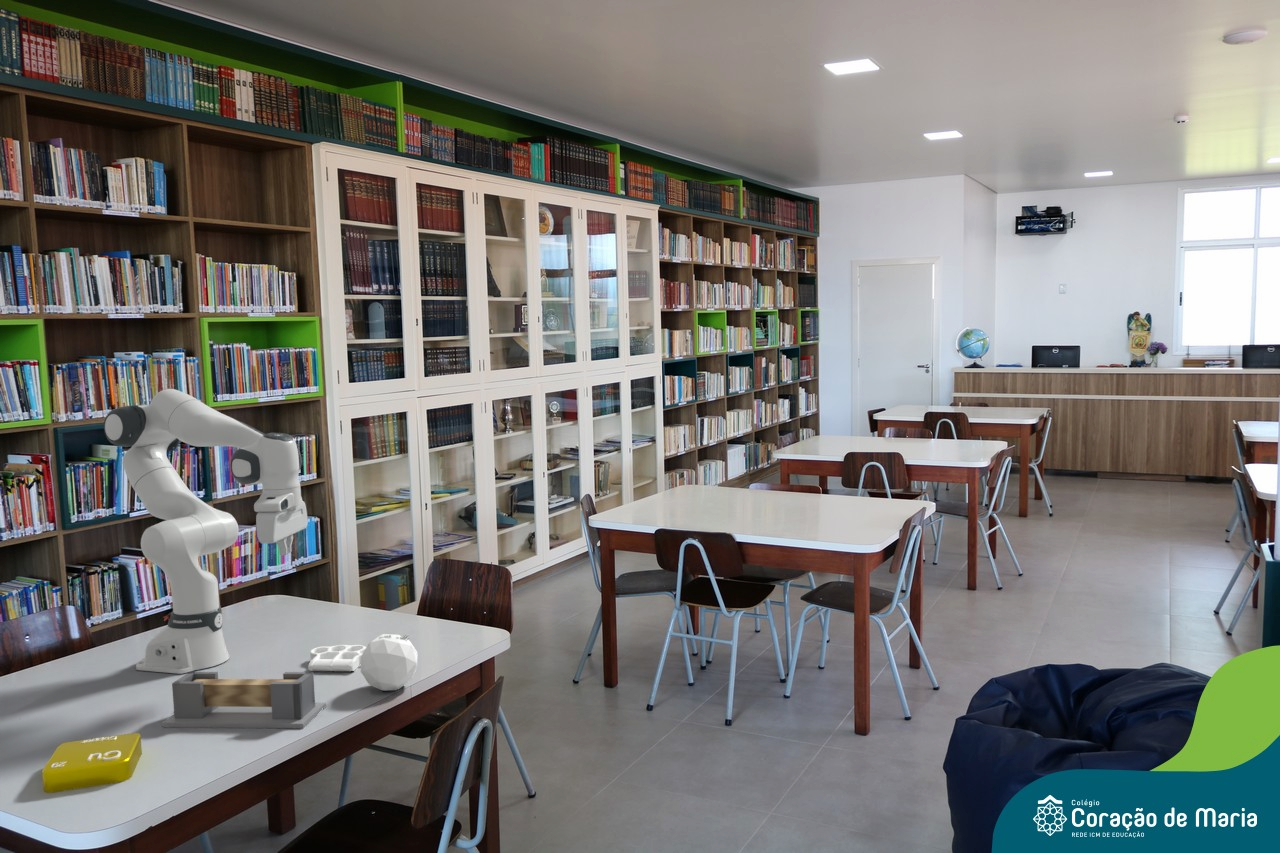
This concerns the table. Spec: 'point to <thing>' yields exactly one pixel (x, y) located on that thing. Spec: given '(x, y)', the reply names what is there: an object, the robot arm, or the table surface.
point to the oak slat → (238, 692)
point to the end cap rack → (287, 711)
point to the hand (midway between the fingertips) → (285, 553)
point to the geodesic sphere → (389, 662)
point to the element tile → (92, 762)
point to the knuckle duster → (336, 658)
